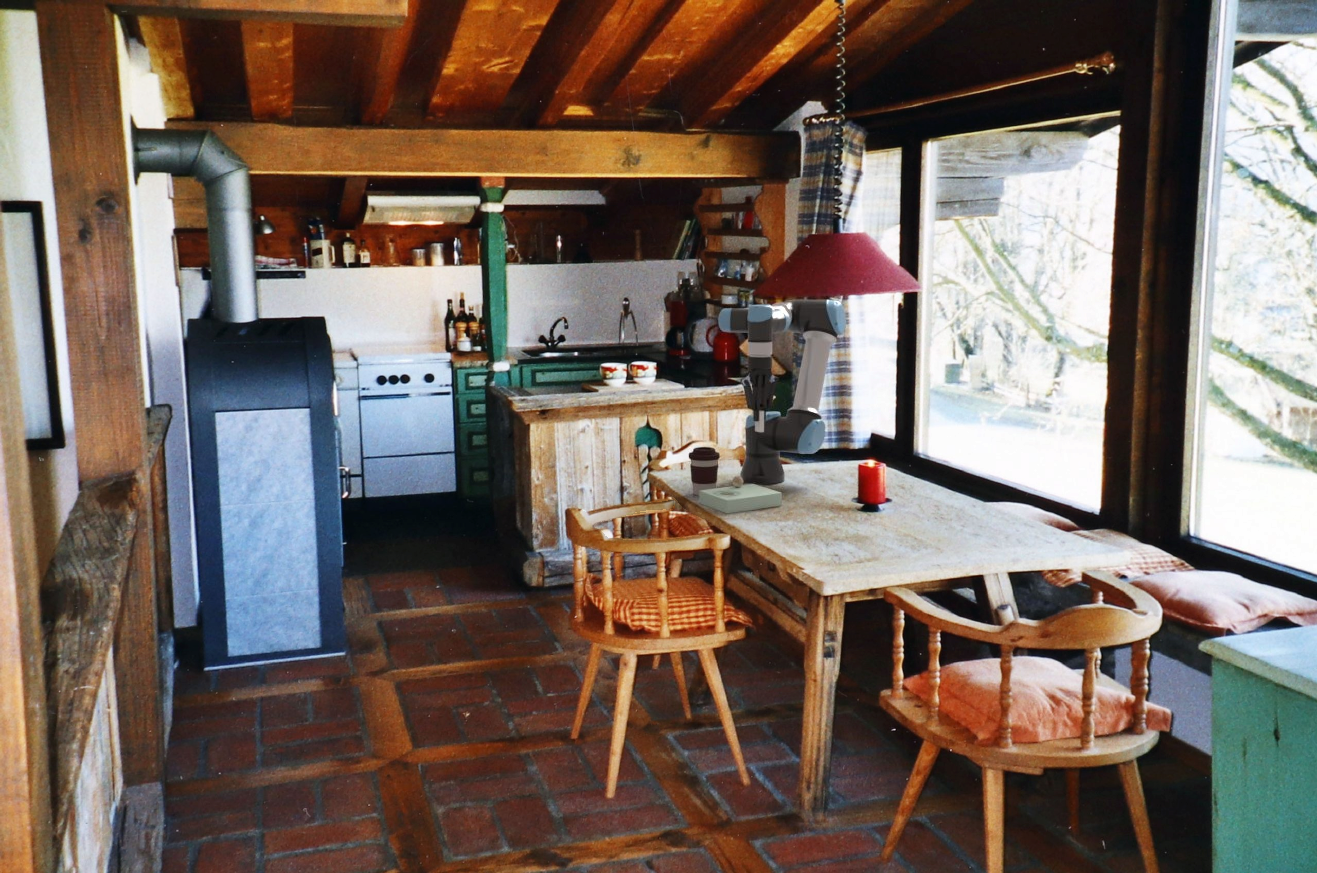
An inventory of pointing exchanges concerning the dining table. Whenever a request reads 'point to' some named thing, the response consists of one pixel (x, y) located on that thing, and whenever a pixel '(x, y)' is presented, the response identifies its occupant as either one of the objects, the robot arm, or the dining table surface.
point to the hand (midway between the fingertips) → (759, 431)
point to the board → (740, 498)
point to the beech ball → (737, 481)
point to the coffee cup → (703, 468)
